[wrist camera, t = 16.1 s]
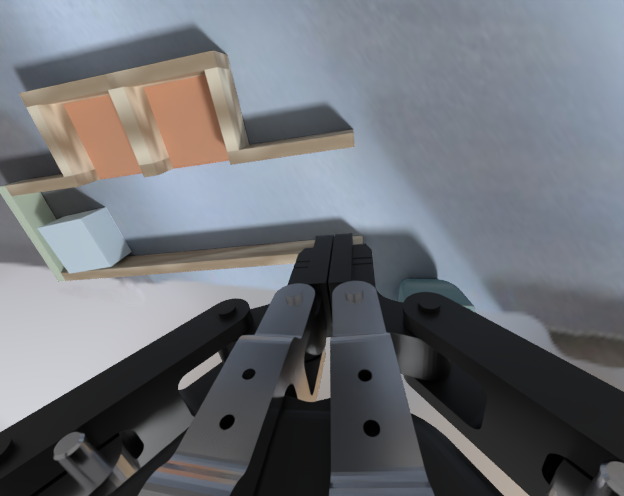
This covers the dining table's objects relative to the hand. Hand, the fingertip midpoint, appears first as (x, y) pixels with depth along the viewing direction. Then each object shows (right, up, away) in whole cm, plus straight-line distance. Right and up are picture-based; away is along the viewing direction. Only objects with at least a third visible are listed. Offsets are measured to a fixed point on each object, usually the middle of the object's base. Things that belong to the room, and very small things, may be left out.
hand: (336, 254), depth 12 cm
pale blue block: (-36, +3, +35) cm, 50 cm away
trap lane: (-20, +10, +29) cm, 37 cm away
